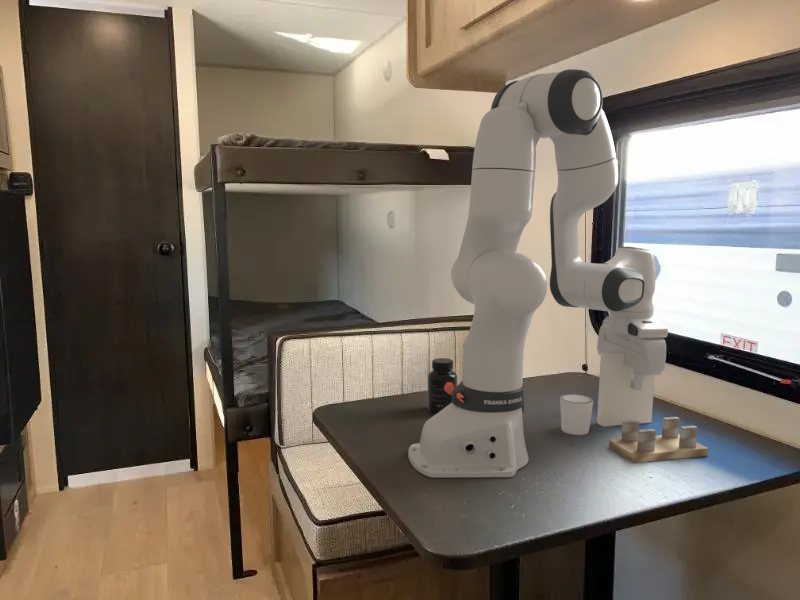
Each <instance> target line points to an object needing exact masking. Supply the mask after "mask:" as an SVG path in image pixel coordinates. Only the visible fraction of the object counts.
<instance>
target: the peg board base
mask: <svg viewBox="0 0 800 600" xmlns="http://www.w3.org/2000/svg"><path fill="white" fill-rule="evenodd" d="M680 420H681V419H680V417H678V416H669V417H663V418H662V428H661V429H662V431H661V434H660V435H656V432H657V430H656V429H653V428H648V429H640V424H639V421H637V420H627V421H623V422H622V425H621V426H622V427H621V438H613V439H609V443H608V445H609V448H611V449H612V450H613V451H615V452H616V453H618V454H620V456H622V457H624V458H625V459H627V460H628V461H630V462H631V463H632V464H634V463H645V462H655V461H657V462H658V461H668V460H677V459H679V460H680V459H689V458H699V457H709V447H706V446H705V445H703V444H701V443H699V442H697V440H698V428H699V427H698V426H695V425H685V426H684V425H683V426H680Z"/></svg>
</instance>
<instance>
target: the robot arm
mask: <svg viewBox="0 0 800 600" xmlns="http://www.w3.org/2000/svg"><path fill="white" fill-rule="evenodd" d="M545 138H549V139H550V140H551V142H552V143H553V147H554V157H555V158H554V159H555V165H556V170H557V188H556V192H554V194H553V195H552V197H551V200H550V205H549V227H550V230H549V231H550V250H551V251H550V253H551V255H550V257H551V268H550V275H549V276H550V277H549V289H550V290H549V291H550V293H551V296H552V297H553V299H554V300H555V303H557V304H558V305H559V306H562V307H566V308H581V309H582V308H583V309H589V310H594V311H604V312H609V313H608V315H607V316H606V317H605V318H604V319H603V321H602V324H601V326H600V327H599V331H598V336H597V346H596V350H597V354H598V355H599V356H601V352H610V351H619V352H622V353H624V361H623V363H624V365H625V366H627V367H629V368H632V369H634V374H635V377H634V380H632V381H631V386H630V387H631V388H632V389H634V390H641V389H642V382H643V380H644V379H645V377H646V375H655V376H660V375H662V374H663V372H664V371H665V369H666V368H665V367H666V360H667V343H666V340H665V338H667V337H668V334H669V330H668V327H667V326H666V325H665V324H663V323H662V322H661V321H660V320H659V319H658V317H656V316H655V315H654V304H653V297H654V293H655V291H656V273H657V272H656V261H655V256H654V253H653V252H651V250H649V249H646V248H643V247H642V248H641V247H634V246H619V247H617V248H616V250H615V253H614V256H613V257H612V258H611V259H608V260H607V261H606V262H604V263H594V262H592V263H591V262H586V261H584V260H583V259H582V258H581V257H580V254H579V253H580V252H579V251H580V250H579V246H580V245H579V222H580V219H581V217H582V216H583V215H584V214H585V213H586V212H589V211H591V210H593V209H594V208H597V207H599V206H600V205H602V204H604V203H605V202H606V201H607V200H608V199H609V198H610V197H612V195H613V193H614V192H615V190H616V188H617V186H618V182H619V167H618V161H617V156H616V155H617V154H616V148H615V144H614V139H613V134H612V131H611V128H610V125H609V122H608V119H607V116H606V114H605V111H604V110H603V93H602V89H601V87H600V84H599V82H598V81H597V80H596V78H595V76H594V75H592V73H590V72H588V71H587V70H583V69H577V68H576V69H570V68H569V69H565V70H562V71H558V72H557V71H556V72H548V73H538V74H534V75H531V76H528V77H525V78H522V79H520V80H514V81H511V82H509V83H507V84H506V85H504V86H502V87H501V88H500V89H499V90H498V91H497V92H496V94H495V96H494V97H493V100H492V103H491V108H490V109H489V111H487V112H486V113H484V115H483V117H482V118H481V121H480V123H479V127H478V131H477V135H476V139H475V143H474V144H475V145H474V150H473V157H472V167H471V169H472V171H471V181H470V183H471V184H470V195H469V208H468V213H467V214H468V216H467V220H466V225H465V229H464V233H463V236H462V241H461V244H460V249H459V253H458V256H457V258H456V259H455V261H454V262H453V264H452V267H451V272H450V279H451V283H452V285H453V288H454V289H455V290H456V292H457V293H458V294H459V296H460V297H461V298H462V299H464V300H465V302H468V303H470V304H473V305H474V310H473V311H474V313H473V317H472V321H471V325H470V329H469V332H468V334H467V336H465V338H464V340H463V344H462V349H463V350H462V378H461V381H460V382H459V383H458V384H457V386H455V385H453V383H451V382H448V383H446V385H444V386H445V387H444V388H445V389H444V390H445V391H446V392H447V393H448V394H450V395H452V403H450V404H449V405H448V406H446V407H445V408H444V409H442V410H441V411H440V412H438V413H437V414H434V415H433V416H431V417H430V418H428V419H427V420H426V421H425V422H424V424H423V427H422V430H421V435H420V440H419V442H417V443H412V444H411V445H410V446H409V448H408V450H407V451H408V452H407V458H408V460H409V462H410V464H411V466H412V468H414V469H415V470H416V471H417V472H419V473H420V474H422V475H424V476H425V477H428V478H511V477H514V476H516V474H517V471H518V470H519V469H521V468H523V467H525V466H526V465H527V464H528V463H529V460H530V457H529V455H528V451H527V448H526V445H527V444H526V442H525V441H526V440H525V434H524V424H523V422H524V421H523V420H524V419H523V414H524V412H525V404H526V403H525V401H526V399H525V398H526V395H525V394H526V393H525V392H526V391H525V384H524V383H523V378H524V376H523V375H524V358H525V346H526V341H527V335H528V332H529V328H530V325H531V322H532V319H533V316H534V313H535V312H536V310H537V309H538V308H540V306H541V305H542V304H543V302H544V301H545V298H546V296H547V291H548V281H547V279H548V278H547V276H546V274H545V272H544V270H543V269H542V267H541V266H540V265H539V264H537V263H536V262H535V261H534V260H532V259H531V258H529V257H528V256H526V255H525V254H522V253H519V252H517V250H518V245H519V243H520V239H521V237H522V233H523V232H524V229H525V227H526V225H527V224H528V223H529V222H530V220H531V217H532V215H533V214H532V213H533V204H534V202H533V201H534V192H535V190H534V189H535V179H536V167H537V166H536V164H537V159H536V158H537V151H536V150H537V144H538V143H539V140H540V139H545Z"/></svg>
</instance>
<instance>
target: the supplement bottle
mask: <svg viewBox="0 0 800 600" xmlns="http://www.w3.org/2000/svg"><path fill="white" fill-rule="evenodd" d="M431 369H432V370H430V371H429V373H428V375H427V410H428V411H429V412H430V413H431V414H434V415H436V414H437V413H438V412H440V411H441V410H442V409H444V408H445V407H446V406H448V405H449V404H450V403H452V395H450V394H448V393H447V392H446V391H445V390H444V389H445V388H444V387H445V386H444V385H446V383H448V382H451V383H453V385H455V386H457V385H458V374H457V373H456V372H455V371H454V360H453V359H452V358H445V357H443V358H442V357H438V358H434V359H432V361H431Z"/></svg>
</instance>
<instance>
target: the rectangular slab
mask: <svg viewBox="0 0 800 600" xmlns="http://www.w3.org/2000/svg"><path fill="white" fill-rule="evenodd" d="M623 361H624V353H622V352H619V351H610V352H601V355H600V362H599V363H600V364H599V381H598V384H599V385H598V395H597V396H598V397H597V398H598V400H597V416H596V417H597V418H596V419H597V420H596V424H597V425H599V426H601V427H612V426H622V422H623V421H627V420H637V421H639V425H640V424H651V423H652V422H653V421H652V420H653V404H654V390H655V389H654V388H655V379H656V378H655V376H656V375H646V377H645V379H644V380H643V382H642V389H641V390H634V389H632V388H631V387H630V386H631V381H632V380H634V377H635V374H634V369H632V368H629V367H627V366H625V365H624V363H623Z"/></svg>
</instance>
